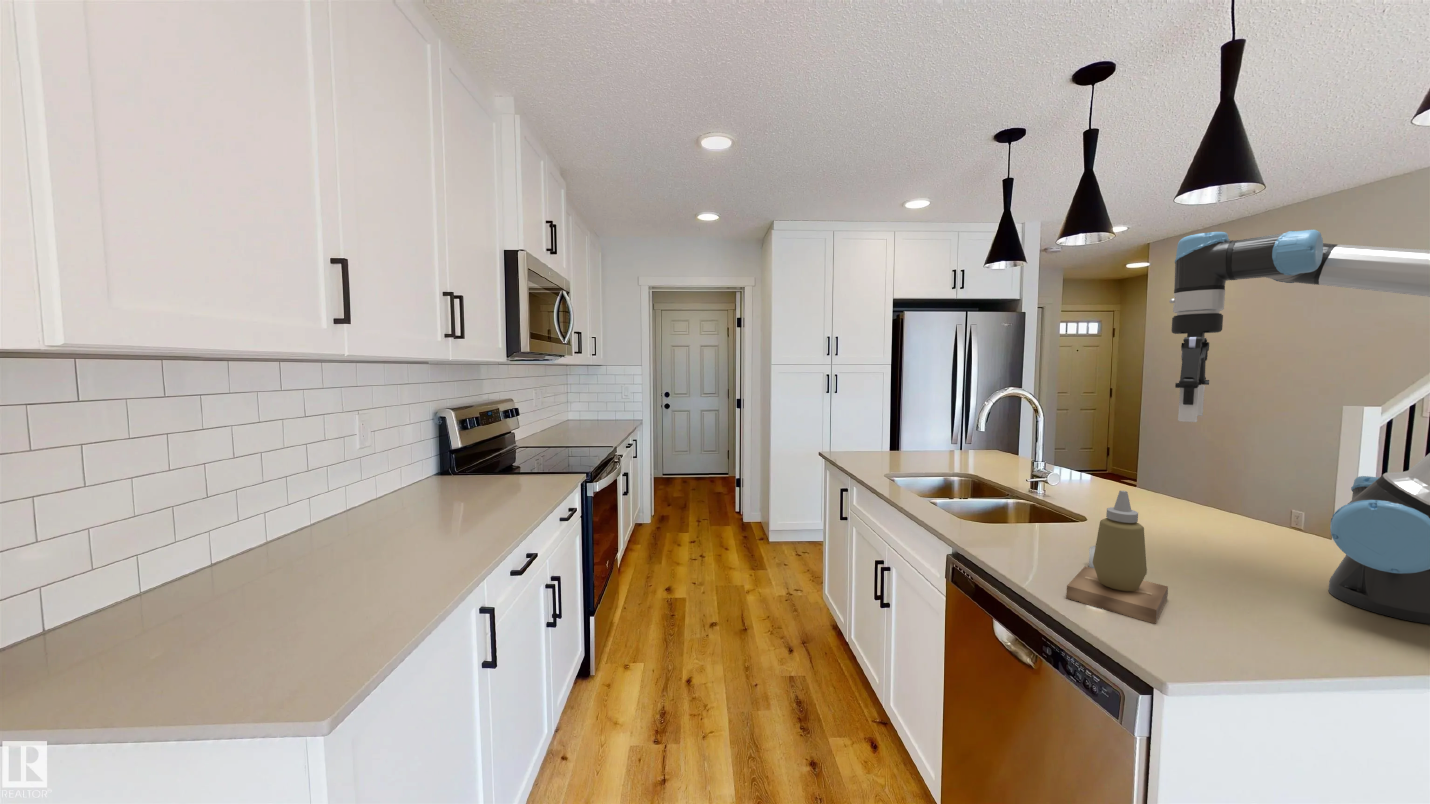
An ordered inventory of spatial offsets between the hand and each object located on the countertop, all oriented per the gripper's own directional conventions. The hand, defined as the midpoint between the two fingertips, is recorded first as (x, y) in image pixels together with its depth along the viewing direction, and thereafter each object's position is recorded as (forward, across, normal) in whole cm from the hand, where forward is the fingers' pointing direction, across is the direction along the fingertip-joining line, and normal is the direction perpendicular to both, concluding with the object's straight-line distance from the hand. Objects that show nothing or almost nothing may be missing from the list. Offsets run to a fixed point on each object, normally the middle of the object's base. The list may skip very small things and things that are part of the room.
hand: (1190, 418), depth 106 cm
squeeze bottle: (+30, +24, -7) cm, 39 cm away
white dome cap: (+33, +8, -10) cm, 35 cm away
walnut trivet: (+32, +24, -7) cm, 41 cm away
